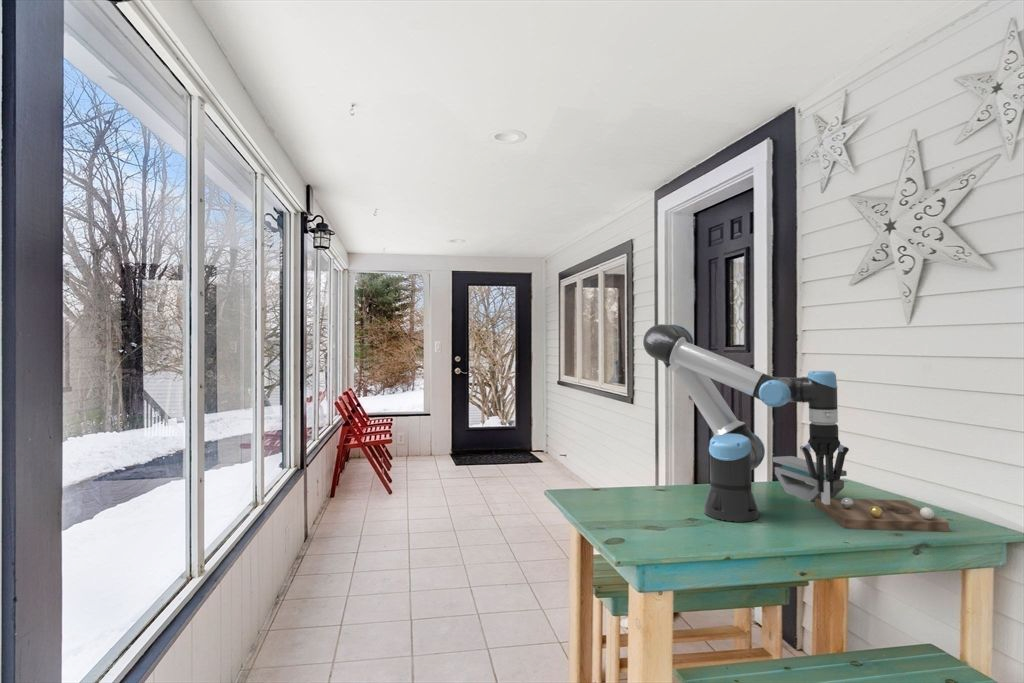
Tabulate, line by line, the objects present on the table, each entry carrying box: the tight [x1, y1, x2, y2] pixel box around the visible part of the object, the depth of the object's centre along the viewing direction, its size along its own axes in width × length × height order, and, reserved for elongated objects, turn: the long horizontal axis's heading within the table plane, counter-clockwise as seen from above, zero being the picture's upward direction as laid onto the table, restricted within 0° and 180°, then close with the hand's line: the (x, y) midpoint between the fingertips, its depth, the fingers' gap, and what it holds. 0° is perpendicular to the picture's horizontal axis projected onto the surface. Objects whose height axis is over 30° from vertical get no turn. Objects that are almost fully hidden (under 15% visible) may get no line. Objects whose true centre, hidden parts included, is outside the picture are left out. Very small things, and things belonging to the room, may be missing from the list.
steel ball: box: [841, 496, 853, 509], centre depth 168 cm, size 3×3×3 cm
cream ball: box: [920, 506, 935, 519], centre depth 158 cm, size 3×3×3 cm
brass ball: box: [869, 506, 883, 518], centre depth 159 cm, size 3×3×3 cm
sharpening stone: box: [772, 455, 848, 502], centre depth 192 cm, size 25×8×11 cm, turn 12°
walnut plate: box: [814, 497, 950, 533], centre depth 167 cm, size 26×22×2 cm
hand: (825, 503), depth 169 cm, fingers closed
